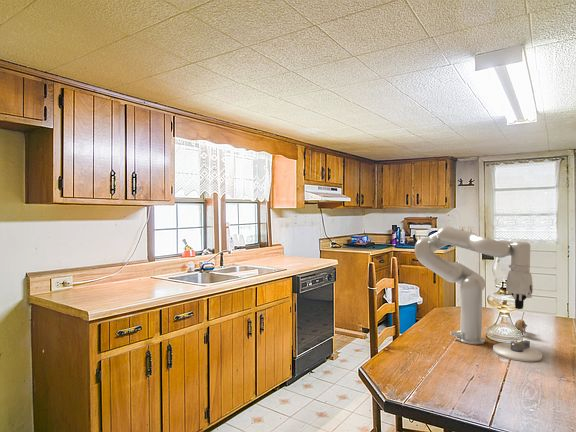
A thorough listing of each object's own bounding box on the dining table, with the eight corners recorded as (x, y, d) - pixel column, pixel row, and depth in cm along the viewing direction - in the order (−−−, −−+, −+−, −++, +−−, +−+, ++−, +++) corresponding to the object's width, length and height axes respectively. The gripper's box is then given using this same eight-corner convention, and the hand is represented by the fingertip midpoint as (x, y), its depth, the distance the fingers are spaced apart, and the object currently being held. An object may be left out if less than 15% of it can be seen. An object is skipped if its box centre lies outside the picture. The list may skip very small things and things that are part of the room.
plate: (505, 360, 169) (505, 357, 169) (485, 345, 188) (485, 342, 188) (551, 362, 168) (551, 359, 168) (527, 347, 187) (527, 343, 187)
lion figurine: (527, 339, 199) (527, 321, 199) (514, 337, 201) (515, 319, 201) (525, 331, 212) (526, 314, 211) (514, 329, 214) (514, 313, 214)
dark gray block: (518, 352, 175) (519, 344, 175) (508, 348, 179) (508, 341, 179) (533, 349, 180) (533, 341, 180) (522, 345, 184) (522, 338, 184)
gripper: (499, 267, 188) (498, 305, 188) (531, 271, 174) (530, 313, 175) (510, 266, 191) (508, 304, 192) (541, 270, 178) (540, 311, 178)
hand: (519, 308), depth 183 cm, fingers closed
